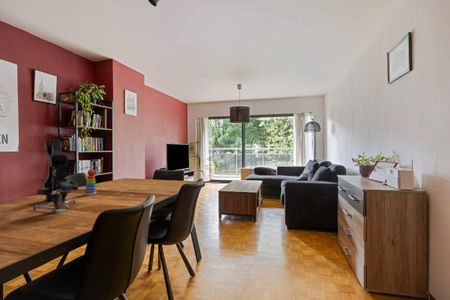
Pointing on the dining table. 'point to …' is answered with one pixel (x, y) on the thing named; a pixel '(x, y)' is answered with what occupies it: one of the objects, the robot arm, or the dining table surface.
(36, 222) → the dining table surface
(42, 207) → the rails leg
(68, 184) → the robot arm
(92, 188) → the stacking toy
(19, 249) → the dining table surface
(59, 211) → the sage coaster
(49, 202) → the rail leg
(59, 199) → the walnut peg
